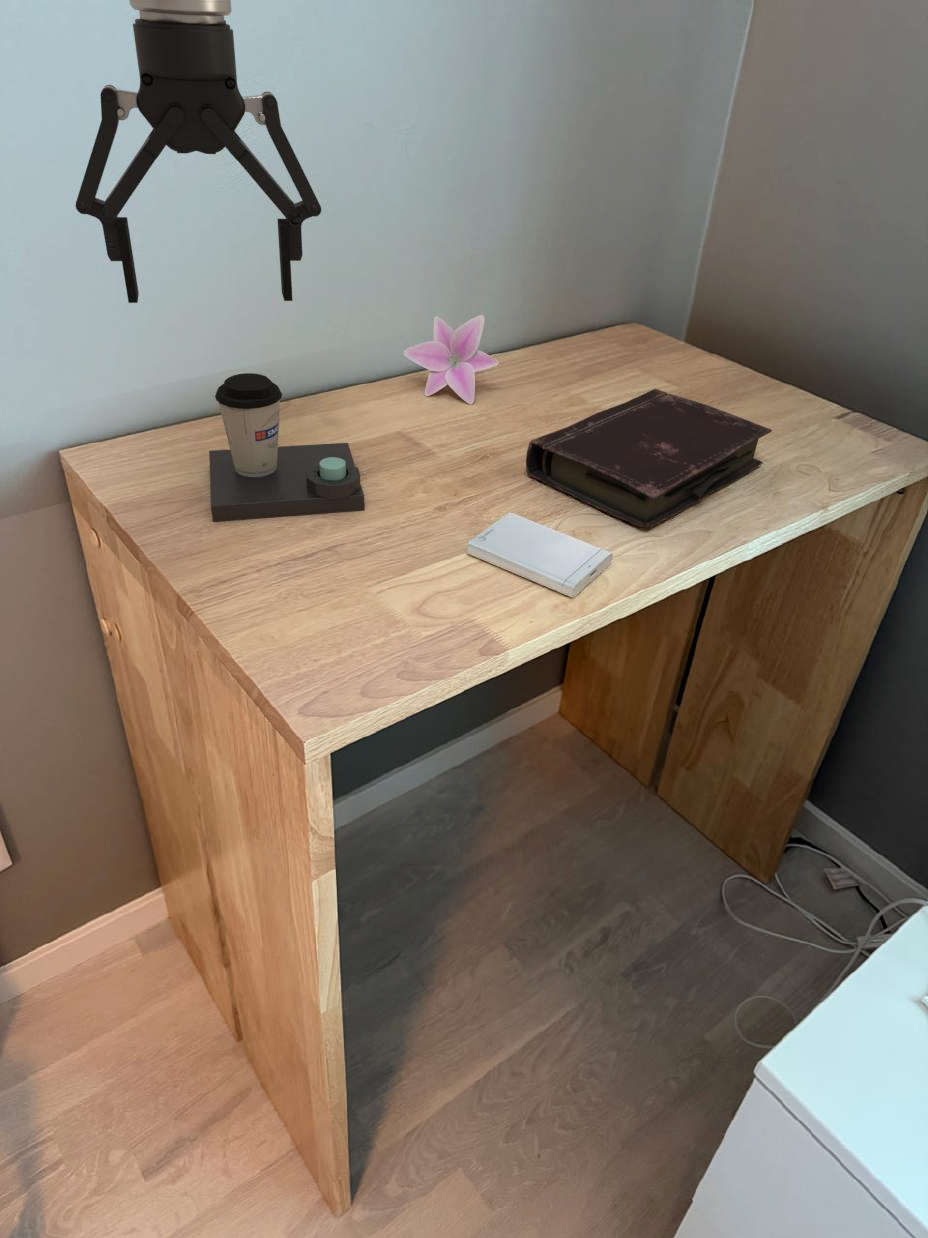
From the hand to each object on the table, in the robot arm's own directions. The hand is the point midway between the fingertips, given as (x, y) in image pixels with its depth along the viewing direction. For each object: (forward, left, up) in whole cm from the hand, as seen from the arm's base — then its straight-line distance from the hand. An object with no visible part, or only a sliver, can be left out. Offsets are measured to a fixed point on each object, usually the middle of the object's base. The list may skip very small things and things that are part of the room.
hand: (211, 297), depth 81 cm
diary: (+49, +2, -23) cm, 54 cm away
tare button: (+10, +1, -19) cm, 22 cm away
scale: (+5, +5, -23) cm, 24 cm away
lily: (+30, +30, -23) cm, 48 cm away
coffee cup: (+2, +6, -21) cm, 22 cm away
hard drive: (+29, -14, -23) cm, 40 cm away
